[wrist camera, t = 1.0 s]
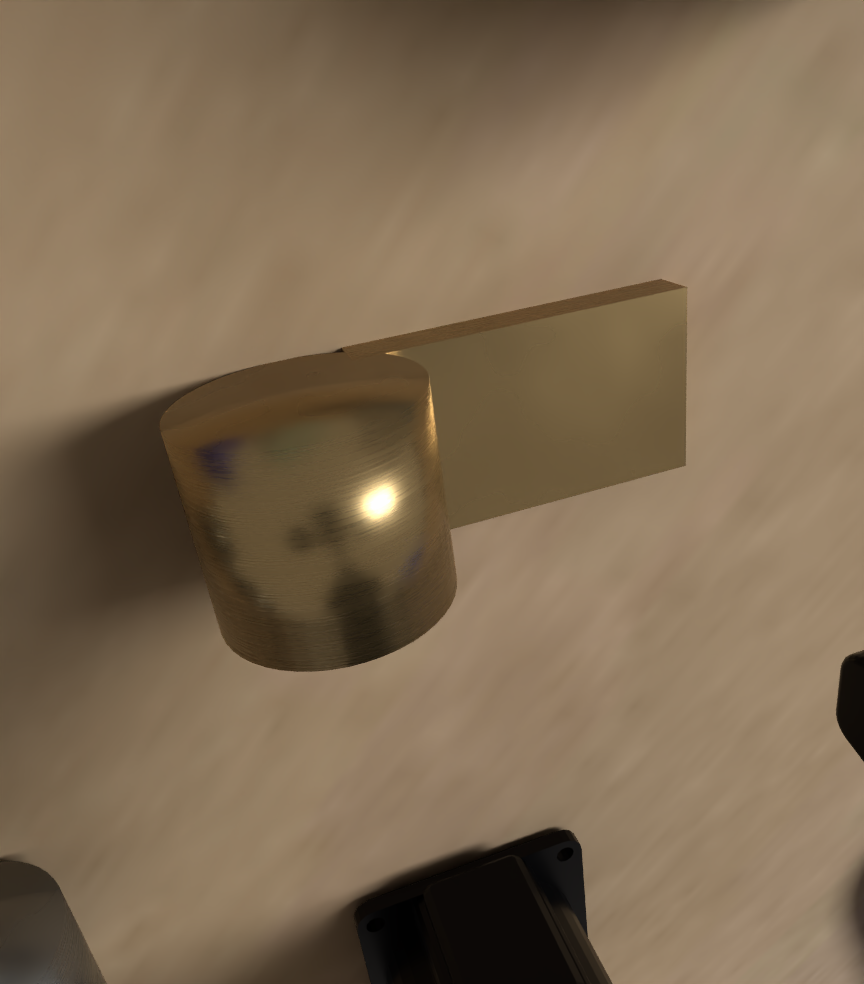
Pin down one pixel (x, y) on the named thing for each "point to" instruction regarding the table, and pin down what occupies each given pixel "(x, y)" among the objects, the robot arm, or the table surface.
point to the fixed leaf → (40, 931)
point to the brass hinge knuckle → (413, 462)
